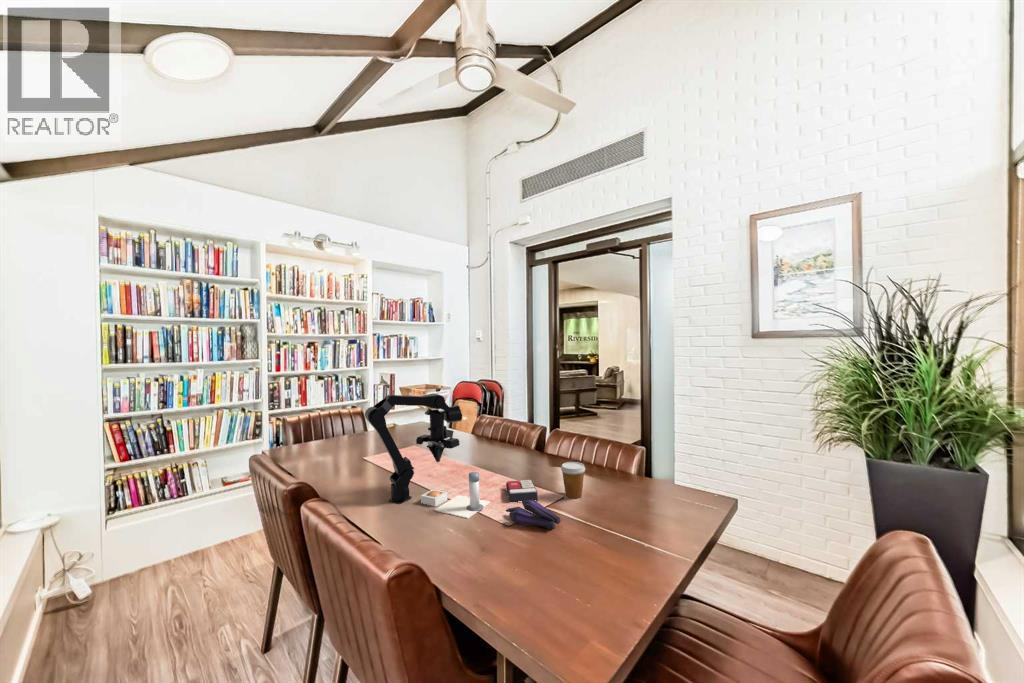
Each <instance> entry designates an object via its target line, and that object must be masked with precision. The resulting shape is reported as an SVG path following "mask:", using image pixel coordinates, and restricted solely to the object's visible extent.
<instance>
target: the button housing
mask: <svg viewBox="0 0 1024 683" xmlns="http://www.w3.org/2000/svg"><path fill="white" fill-rule="evenodd" d="M431 491H439V492H440V495H438V496H437V497H431V496H428V493H429V492H431ZM446 501H448V491H443V490H438V489H431V490H429V491H427V492H425V493H423V494H421V495H420V504H422V503H423V504H422V505H426V504H427V505H426V506H430V505H431V507H436V508H437V506H438V507H439V506H440V505H442V504H444V503H445V502H446Z"/></svg>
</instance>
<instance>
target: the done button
mask: <svg viewBox="0 0 1024 683" xmlns="http://www.w3.org/2000/svg"><path fill="white" fill-rule="evenodd" d="M438 495H440V492H439V491H431V492H429V493H428V496H431V497H437V496H438Z"/></svg>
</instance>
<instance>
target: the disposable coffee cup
mask: <svg viewBox="0 0 1024 683" xmlns="http://www.w3.org/2000/svg"><path fill="white" fill-rule="evenodd" d="M560 470H561V473H562V480H563V484H564V485H563V486H564V493H565V497H566V498H568V499H571V500H572V499H574V500H575V499H580V498H582V496H583V486H584V478H585V477H584V476H585V472H586V467H585V465H584V464H583V463H581V462H578V461H567V462H564V463H562V464H561V467H560Z"/></svg>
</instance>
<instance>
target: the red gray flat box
mask: <svg viewBox="0 0 1024 683" xmlns="http://www.w3.org/2000/svg"><path fill="white" fill-rule="evenodd" d="M505 487H506V489H507V490H506V489H505V490H506V493H508V494H507V497H508V498H507V499H508V502H517V503H519V502H518V501H527V500H538V501H539V499H538V498H539V496H538V494H539V493H538V490H537V488H536V486H535V484H534V482H533V480H532V479H523V480H522V479H521V480H507V481H506V483H505Z"/></svg>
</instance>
